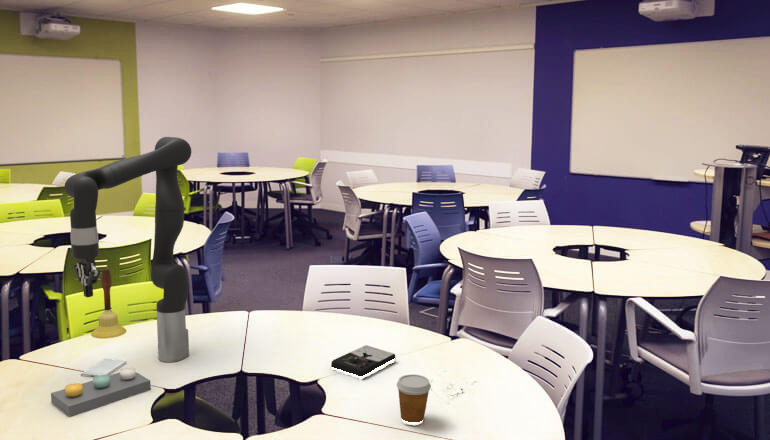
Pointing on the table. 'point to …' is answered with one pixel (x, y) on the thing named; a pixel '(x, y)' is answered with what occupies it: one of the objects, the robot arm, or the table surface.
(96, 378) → the teal button
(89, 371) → the hard drive
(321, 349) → the table surface
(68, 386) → the amber button
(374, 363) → the black and grey book
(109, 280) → the handbell
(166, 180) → the robot arm
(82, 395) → the console
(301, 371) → the table surface
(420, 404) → the disposable coffee cup
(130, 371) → the offwhite button
